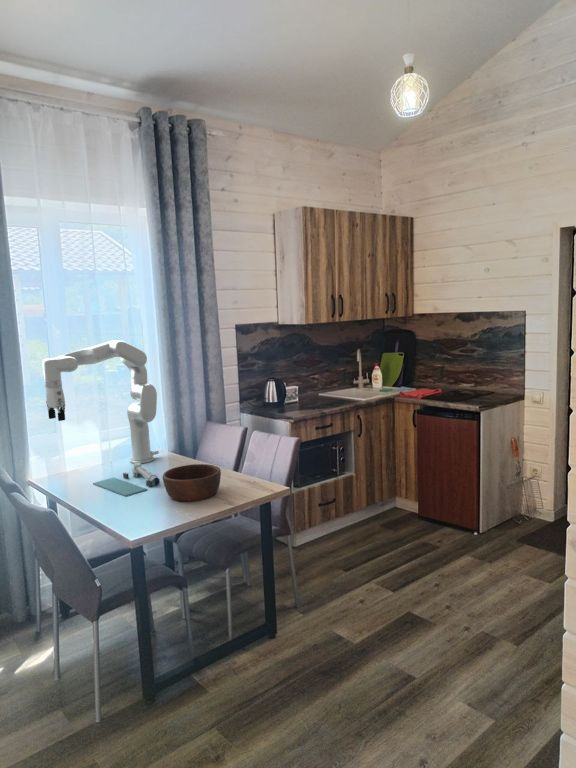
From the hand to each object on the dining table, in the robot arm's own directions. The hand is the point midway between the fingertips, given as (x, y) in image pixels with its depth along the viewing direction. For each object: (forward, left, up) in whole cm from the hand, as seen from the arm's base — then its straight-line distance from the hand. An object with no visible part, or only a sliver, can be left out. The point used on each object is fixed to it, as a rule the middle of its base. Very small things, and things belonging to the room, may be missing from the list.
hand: (57, 419), depth 281 cm
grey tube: (-26, +32, -31) cm, 52 cm away
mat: (-12, +32, -31) cm, 46 cm away
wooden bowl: (-27, +69, -31) cm, 80 cm away
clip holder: (-26, +32, -31) cm, 52 cm away
